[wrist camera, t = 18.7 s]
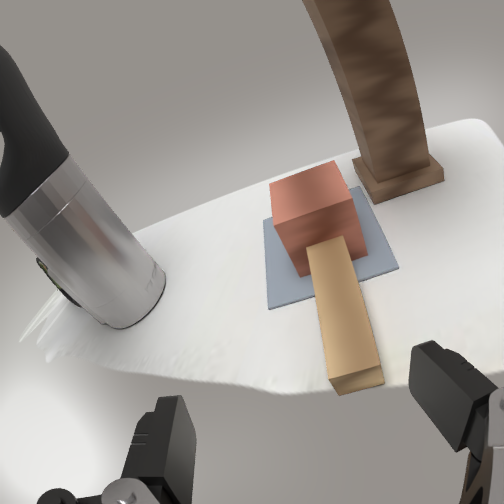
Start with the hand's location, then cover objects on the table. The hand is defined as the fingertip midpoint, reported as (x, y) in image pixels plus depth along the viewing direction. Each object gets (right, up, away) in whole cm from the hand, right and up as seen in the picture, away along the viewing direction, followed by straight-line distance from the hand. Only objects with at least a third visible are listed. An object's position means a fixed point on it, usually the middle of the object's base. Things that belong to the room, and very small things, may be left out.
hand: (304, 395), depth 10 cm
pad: (+5, +6, +19) cm, 21 cm away
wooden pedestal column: (+14, +12, +20) cm, 27 cm away
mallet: (+5, +2, +14) cm, 15 cm away
